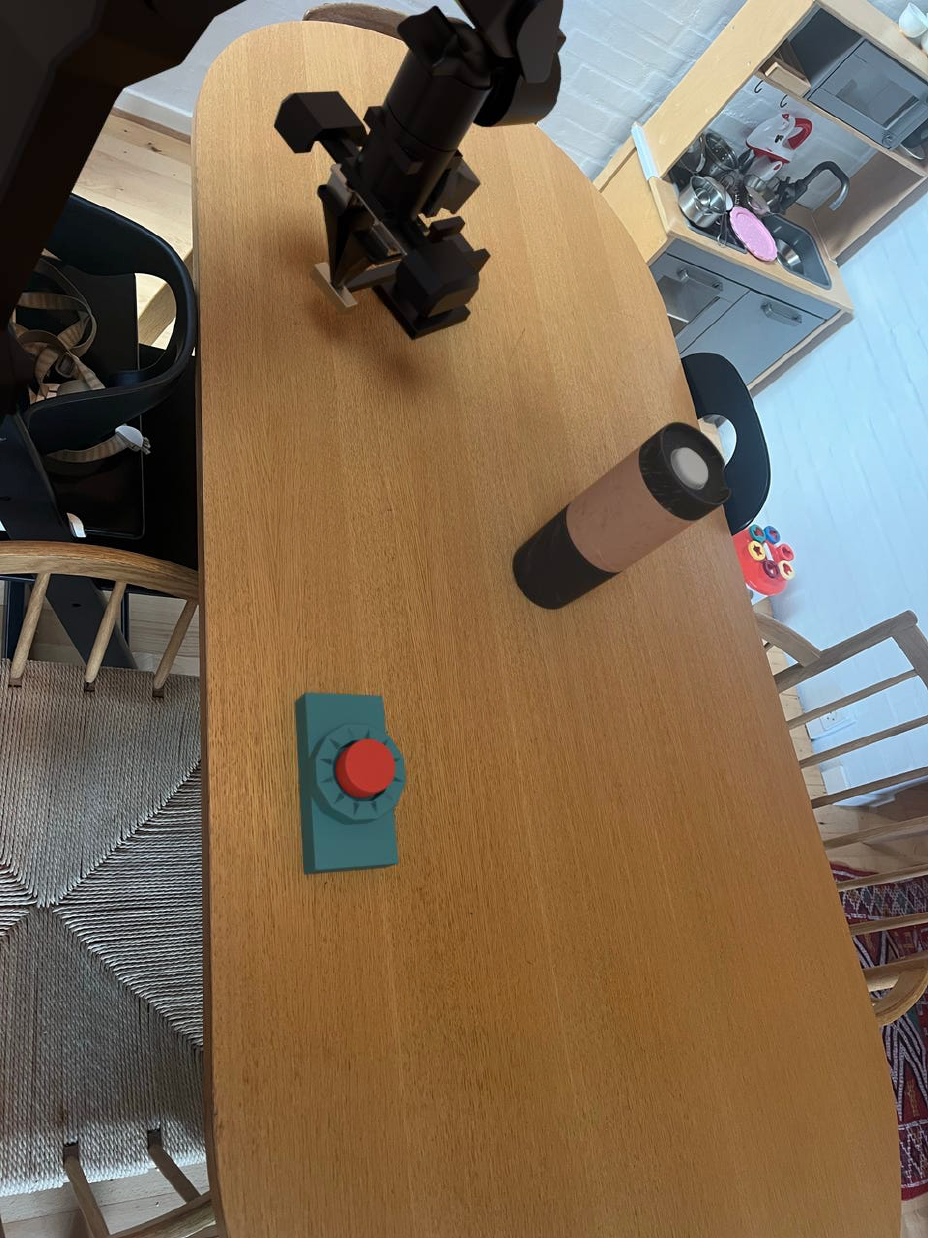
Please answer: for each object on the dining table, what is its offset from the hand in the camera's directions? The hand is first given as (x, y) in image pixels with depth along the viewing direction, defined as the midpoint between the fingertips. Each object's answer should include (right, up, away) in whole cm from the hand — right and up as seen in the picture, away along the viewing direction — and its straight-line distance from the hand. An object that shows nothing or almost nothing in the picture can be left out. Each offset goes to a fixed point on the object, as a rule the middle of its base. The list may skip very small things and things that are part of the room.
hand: (337, 283), depth 65 cm
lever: (+4, +3, +7) cm, 8 cm away
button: (+4, -39, -13) cm, 41 cm away
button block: (+2, -40, -10) cm, 41 cm away
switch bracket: (+6, +5, +16) cm, 17 cm away
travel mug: (+18, -24, +9) cm, 32 cm away
